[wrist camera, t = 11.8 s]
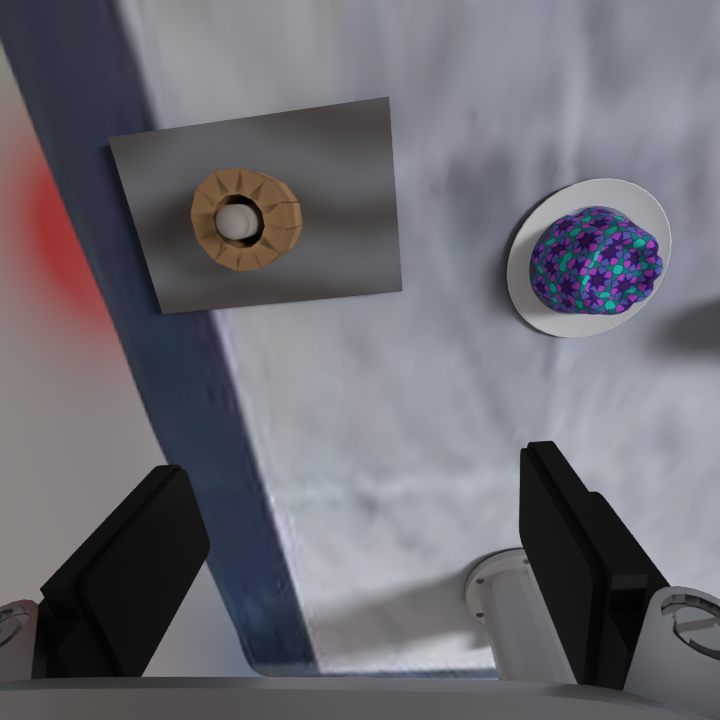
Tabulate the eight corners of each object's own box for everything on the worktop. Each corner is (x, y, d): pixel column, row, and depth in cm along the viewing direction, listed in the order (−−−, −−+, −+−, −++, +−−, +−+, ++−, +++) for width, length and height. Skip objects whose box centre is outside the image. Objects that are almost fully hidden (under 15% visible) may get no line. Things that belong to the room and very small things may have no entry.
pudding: (536, 163, 28) (567, 155, 23) (695, 197, 28) (759, 196, 24) (484, 319, 33) (501, 339, 28) (621, 347, 33) (662, 372, 28)
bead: (308, 254, 30) (293, 265, 25) (233, 263, 30) (206, 274, 26) (294, 168, 28) (275, 162, 23) (213, 180, 28) (180, 176, 24)
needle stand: (401, 287, 32) (406, 315, 24) (171, 309, 34) (106, 342, 26) (388, 102, 27) (389, 61, 19) (121, 140, 29) (22, 118, 21)
